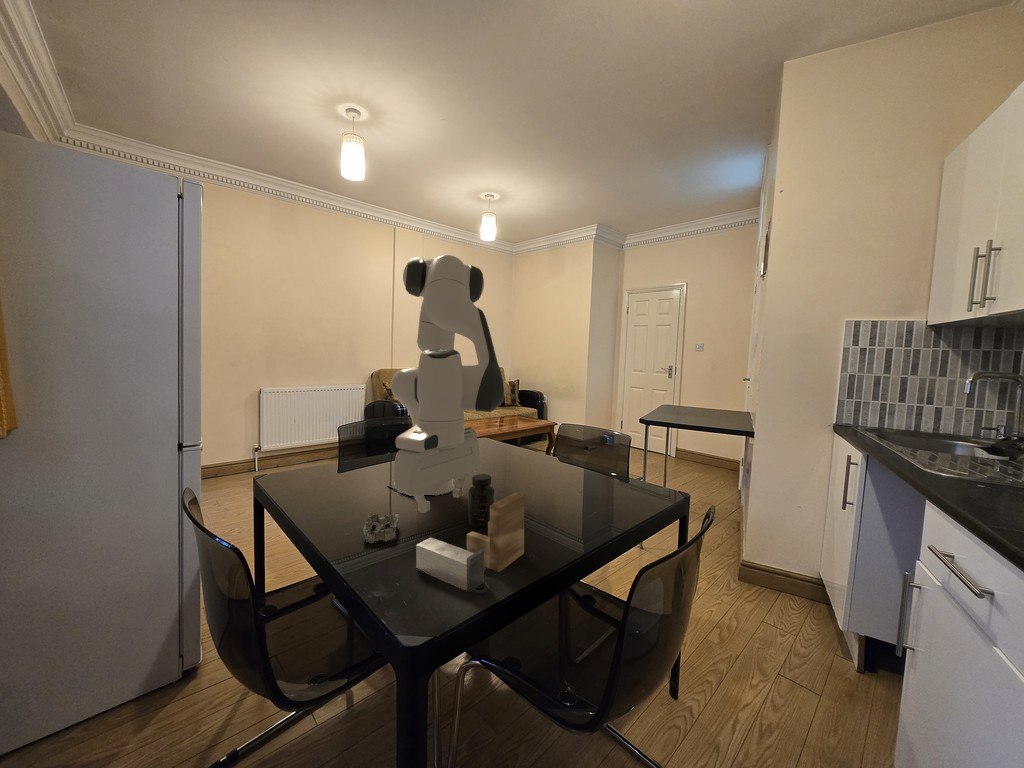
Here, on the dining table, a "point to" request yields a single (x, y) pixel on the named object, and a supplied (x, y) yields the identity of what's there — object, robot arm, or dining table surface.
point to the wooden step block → (501, 533)
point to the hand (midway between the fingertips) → (442, 503)
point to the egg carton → (380, 527)
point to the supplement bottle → (480, 500)
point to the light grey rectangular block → (451, 563)
